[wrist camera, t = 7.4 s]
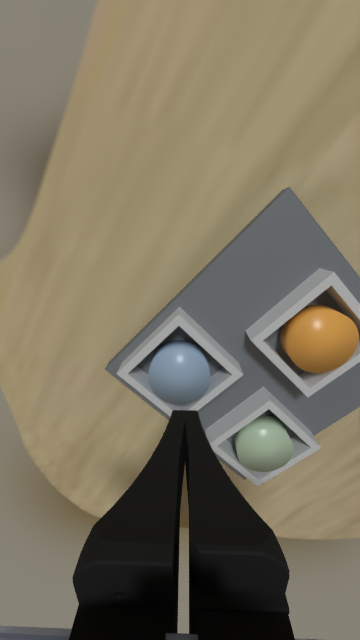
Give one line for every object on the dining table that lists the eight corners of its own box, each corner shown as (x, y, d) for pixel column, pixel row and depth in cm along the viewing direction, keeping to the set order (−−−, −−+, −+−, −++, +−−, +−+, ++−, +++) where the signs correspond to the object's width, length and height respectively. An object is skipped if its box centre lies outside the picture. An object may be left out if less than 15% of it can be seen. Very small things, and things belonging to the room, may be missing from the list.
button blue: (220, 366, 19) (223, 378, 18) (180, 399, 20) (179, 413, 19) (179, 328, 18) (178, 337, 17) (139, 365, 19) (135, 377, 18)
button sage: (296, 436, 21) (305, 452, 20) (256, 462, 23) (261, 479, 21) (263, 405, 20) (270, 420, 19) (223, 434, 22) (225, 451, 20)
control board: (414, 356, 20) (450, 376, 18) (241, 468, 25) (248, 498, 23) (282, 190, 16) (302, 181, 14) (109, 361, 21) (97, 381, 19)
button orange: (355, 334, 18) (372, 344, 16) (304, 371, 19) (314, 384, 18) (319, 291, 17) (333, 297, 15) (267, 333, 18) (275, 343, 17)
